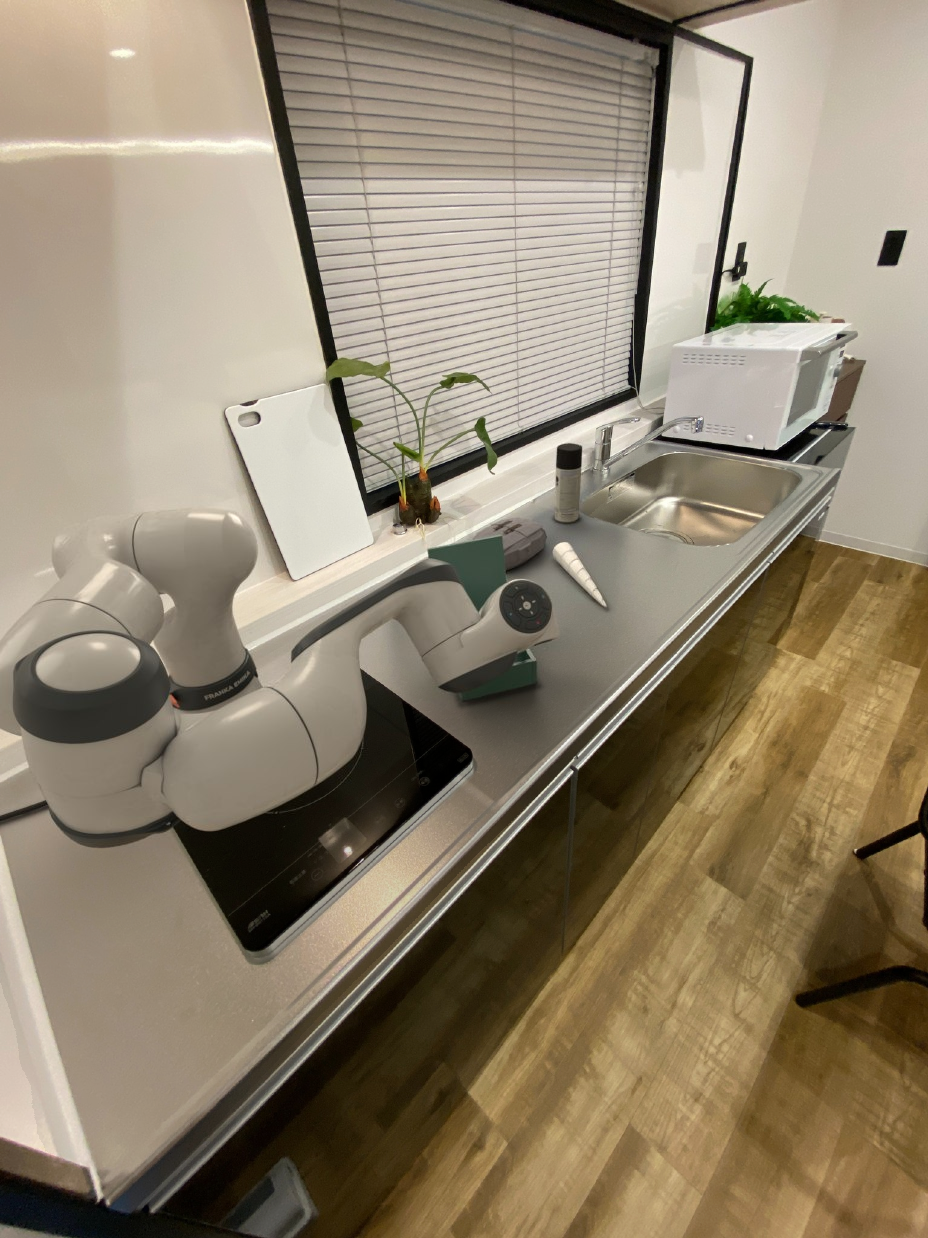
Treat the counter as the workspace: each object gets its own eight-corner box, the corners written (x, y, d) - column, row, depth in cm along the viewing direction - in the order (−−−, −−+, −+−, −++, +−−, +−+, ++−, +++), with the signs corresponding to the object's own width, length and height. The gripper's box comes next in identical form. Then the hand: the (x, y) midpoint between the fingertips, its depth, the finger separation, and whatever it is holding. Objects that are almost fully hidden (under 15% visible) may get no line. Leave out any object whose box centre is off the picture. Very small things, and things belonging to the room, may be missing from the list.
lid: (502, 535, 95) (500, 534, 95) (427, 549, 93) (427, 548, 93) (509, 613, 101) (508, 612, 102) (440, 628, 99) (439, 627, 100)
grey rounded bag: (508, 579, 124) (559, 546, 135) (507, 547, 119) (560, 516, 130) (462, 560, 133) (513, 531, 144) (459, 530, 128) (512, 502, 140)
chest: (536, 686, 93) (536, 660, 90) (462, 704, 91) (459, 678, 88) (509, 639, 105) (509, 614, 102) (443, 654, 103) (440, 629, 100)
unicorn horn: (588, 612, 110) (590, 592, 108) (551, 560, 130) (551, 542, 127) (610, 608, 111) (612, 588, 108) (570, 557, 130) (570, 539, 128)
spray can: (565, 511, 153) (567, 440, 141) (583, 517, 148) (587, 445, 137) (549, 518, 149) (550, 447, 138) (568, 525, 145) (570, 452, 133)
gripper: (439, 664, 78) (433, 674, 92) (569, 635, 81) (545, 648, 95) (430, 623, 79) (425, 638, 93) (558, 596, 83) (536, 614, 96)
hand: (486, 643), depth 94 cm, fingers open, 8 cm apart
